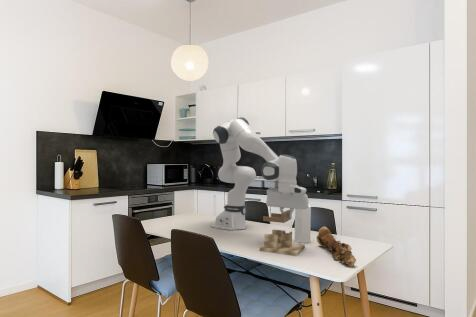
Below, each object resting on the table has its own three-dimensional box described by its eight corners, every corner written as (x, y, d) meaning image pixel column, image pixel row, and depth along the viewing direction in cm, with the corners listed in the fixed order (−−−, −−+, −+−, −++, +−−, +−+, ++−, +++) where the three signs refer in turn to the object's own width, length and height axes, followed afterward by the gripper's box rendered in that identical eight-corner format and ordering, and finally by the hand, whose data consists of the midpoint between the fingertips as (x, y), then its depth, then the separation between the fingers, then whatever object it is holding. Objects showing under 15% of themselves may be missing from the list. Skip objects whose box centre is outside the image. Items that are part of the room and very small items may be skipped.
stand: (259, 250, 154) (259, 232, 154) (270, 243, 169) (270, 226, 169) (296, 255, 147) (297, 236, 147) (304, 247, 162) (305, 230, 162)
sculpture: (325, 255, 166) (346, 272, 131) (310, 232, 167) (328, 243, 133) (339, 246, 166) (364, 260, 132) (324, 223, 168) (345, 231, 133)
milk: (294, 240, 175) (294, 199, 176) (303, 239, 178) (303, 199, 179) (301, 243, 170) (302, 201, 170) (310, 242, 173) (311, 200, 173)
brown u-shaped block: (262, 220, 155) (263, 211, 155) (271, 216, 167) (271, 208, 167) (284, 222, 151) (284, 213, 151) (291, 218, 163) (291, 209, 163)
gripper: (264, 187, 159) (264, 216, 158) (306, 190, 150) (306, 220, 150) (269, 186, 164) (268, 214, 164) (309, 189, 156) (308, 218, 156)
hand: (286, 217), depth 157 cm, fingers closed on brown u-shaped block
